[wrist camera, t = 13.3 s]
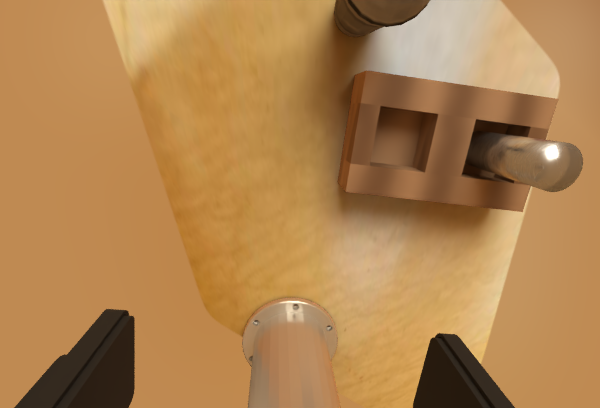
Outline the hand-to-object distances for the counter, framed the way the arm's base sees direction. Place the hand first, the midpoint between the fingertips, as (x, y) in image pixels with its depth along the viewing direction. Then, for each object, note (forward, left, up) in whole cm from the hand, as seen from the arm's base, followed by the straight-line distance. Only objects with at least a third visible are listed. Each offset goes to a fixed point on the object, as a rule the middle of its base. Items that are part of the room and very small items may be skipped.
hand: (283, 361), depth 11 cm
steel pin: (+6, -22, -29) cm, 37 cm away
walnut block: (+6, -17, -30) cm, 35 cm away
